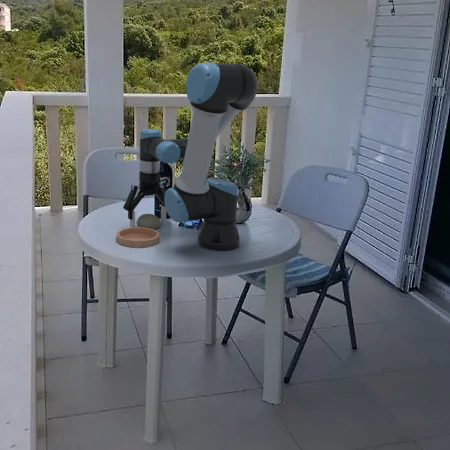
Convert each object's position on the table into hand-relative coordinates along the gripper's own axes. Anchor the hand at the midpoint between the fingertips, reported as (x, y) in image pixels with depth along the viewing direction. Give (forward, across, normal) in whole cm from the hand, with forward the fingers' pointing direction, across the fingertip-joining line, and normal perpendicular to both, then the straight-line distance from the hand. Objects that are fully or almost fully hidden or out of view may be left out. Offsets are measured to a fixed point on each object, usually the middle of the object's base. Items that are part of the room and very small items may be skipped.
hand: (148, 224), depth 220 cm
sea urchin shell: (+1, 0, 0) cm, 1 cm away
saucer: (0, +11, +12) cm, 17 cm away
